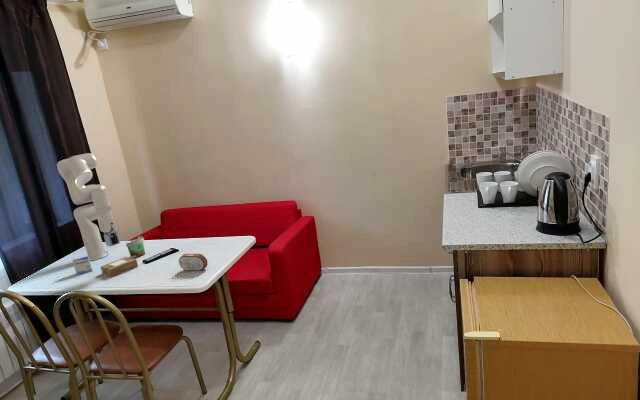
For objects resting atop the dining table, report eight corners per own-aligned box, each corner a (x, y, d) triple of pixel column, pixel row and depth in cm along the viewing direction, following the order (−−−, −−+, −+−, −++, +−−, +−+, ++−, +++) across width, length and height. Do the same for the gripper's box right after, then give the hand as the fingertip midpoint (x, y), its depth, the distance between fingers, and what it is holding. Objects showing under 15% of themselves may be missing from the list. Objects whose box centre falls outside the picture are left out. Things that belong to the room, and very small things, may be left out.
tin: (209, 268, 226) (205, 252, 224) (205, 271, 223) (202, 255, 221) (183, 269, 231) (180, 253, 229) (180, 271, 228) (176, 255, 226)
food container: (139, 259, 258) (135, 242, 256) (130, 259, 260) (125, 243, 257) (151, 251, 270) (147, 235, 268) (142, 251, 271) (138, 235, 269)
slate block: (106, 245, 241) (103, 234, 239) (115, 242, 244) (112, 231, 243) (110, 246, 238) (107, 235, 236) (120, 243, 241) (117, 232, 240)
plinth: (102, 273, 243) (100, 266, 242) (127, 263, 254) (125, 256, 253) (113, 277, 236) (110, 269, 235) (138, 266, 246) (136, 259, 245)
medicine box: (76, 275, 248) (72, 260, 245) (76, 273, 251) (72, 258, 249) (92, 271, 251) (88, 256, 249) (92, 268, 255) (88, 254, 253)
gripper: (89, 211, 240) (98, 244, 244) (104, 213, 228) (113, 247, 233) (103, 207, 245) (112, 239, 249) (118, 208, 234) (127, 242, 238)
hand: (112, 242), depth 241 cm, fingers closed on slate block, 5 cm apart
